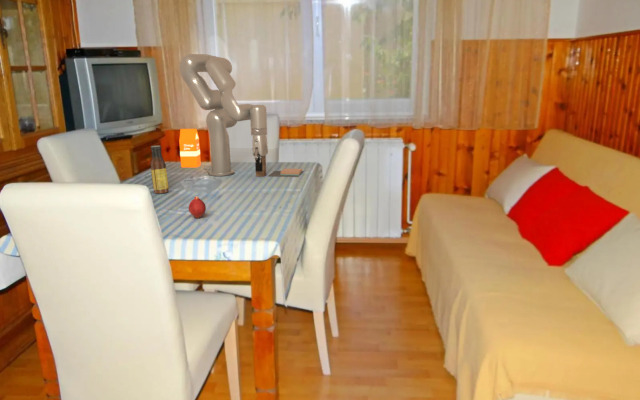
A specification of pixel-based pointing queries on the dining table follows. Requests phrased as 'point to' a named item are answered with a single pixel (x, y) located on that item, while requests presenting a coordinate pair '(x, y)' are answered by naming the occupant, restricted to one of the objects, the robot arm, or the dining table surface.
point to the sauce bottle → (158, 171)
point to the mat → (278, 174)
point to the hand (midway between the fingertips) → (260, 169)
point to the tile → (291, 171)
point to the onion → (197, 207)
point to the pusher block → (263, 172)
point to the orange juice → (189, 148)
